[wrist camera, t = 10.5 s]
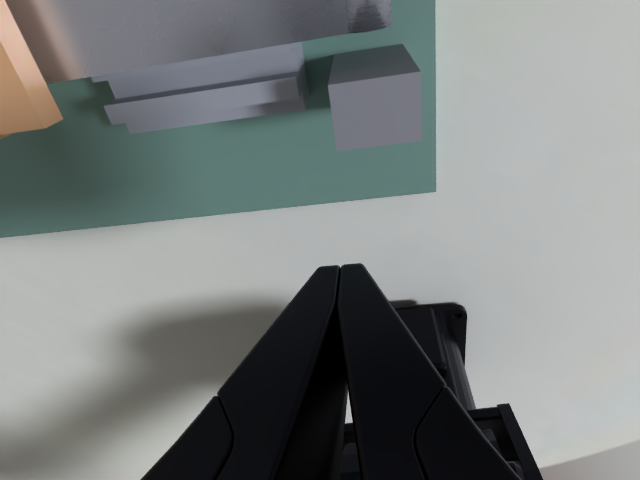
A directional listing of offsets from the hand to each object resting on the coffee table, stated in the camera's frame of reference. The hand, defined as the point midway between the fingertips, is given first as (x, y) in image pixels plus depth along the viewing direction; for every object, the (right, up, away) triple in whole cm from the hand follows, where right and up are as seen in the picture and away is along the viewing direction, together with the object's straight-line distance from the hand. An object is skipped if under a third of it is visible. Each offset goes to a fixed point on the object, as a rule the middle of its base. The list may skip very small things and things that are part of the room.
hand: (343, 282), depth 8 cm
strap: (-5, +8, +5) cm, 11 cm away
